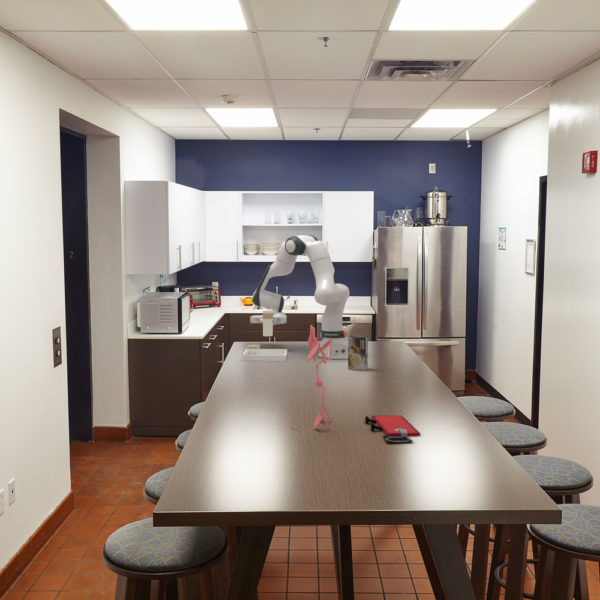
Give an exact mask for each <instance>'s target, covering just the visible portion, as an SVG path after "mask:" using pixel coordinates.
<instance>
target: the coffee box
mask: <svg viewBox="0 0 600 600" xmlns="http://www.w3.org/2000/svg"><path fill="white" fill-rule="evenodd" d="M347 339H348V359H347V370H355V369H356V370H355V371H357V370H358V371H359V370H360V371H366V370H368V369H369V365H368V363H369V362H368V361H369V358H368V357H369V355H368V354H369V340H368V339H369V336H368V335H353V334H352V335H351V334H349V336H348V337H347Z"/></svg>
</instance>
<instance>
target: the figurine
mask: <svg viewBox="0 0 600 600" xmlns="http://www.w3.org/2000/svg"><path fill="white" fill-rule="evenodd" d="M309 332H310V333H309V336H308V340H307V341H308V342H307V344H308V347H309V348H310V352H309V353H308V355H307V359H306V361H307V362H309V361H310V360H311V359H312V360H313V362H316V353H317V352H318V354H319V353H320V352H321V354H322V357H321V358H322V360H320V361H319V362H317V363H316V365H315V369H316V380H315V381H314V385H315V386H316V388H318V389H319V391H320V392H321V394H322V399H321V400H322V401H321V405H320V410H319V411H318V413H317V414H316V416H315V417H314V419H315V420H314V423H313V430H315V429H316V428H317V427H318V426H319V425H320V424H321V422H322V420H323V422H324V424H325V425H326V427H327V429H328V430H329V429H330V426H329V424H328V422H327V420H326V418H325V417H324V411H325V413H326V416H327V418H328V419H329V422H332V418H331V416H333V417H334V416H336V415H334V414H330V415H329V413H328V411H327V408H326V403H325V404H324V402H325V386H324V384H323V383H324V382H323V381H322V379H319V369H318V366H319V365H320V364H322V363H323V362H324V364H325V365H326V364H327V361H331V360H332V359H331V341H332V340H331V339H330V340H329V341H327V342H326V343H325V344H324V345H323V346H322V347H320V346H321V342H318V339H317V337H316V327H314V326H313V324H310V327H309ZM329 344H330V354H329V358H328V357H326V355H325V354H324V352H323V350H324V349H326V348H327V347H328V346H329ZM318 350H319V351H318ZM324 357H325V358H324ZM321 387H322V388H323V389H322V388H321ZM295 420H297V419H294V421H295ZM292 429H293V430H294V431H296V432H299V433H300V432H301V430H297V429H295V428H294V427H292V428H291V430H292Z"/></svg>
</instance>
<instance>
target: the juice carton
mask: <svg viewBox="0 0 600 600" xmlns="http://www.w3.org/2000/svg"><path fill="white" fill-rule="evenodd" d="M262 314H263V323H262V336H263V337H273V335H274V334H273V333H274V331H273V330H274V327H273V326H274V325H273V323H272V319H273V310H266V309H263V310H262Z"/></svg>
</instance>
